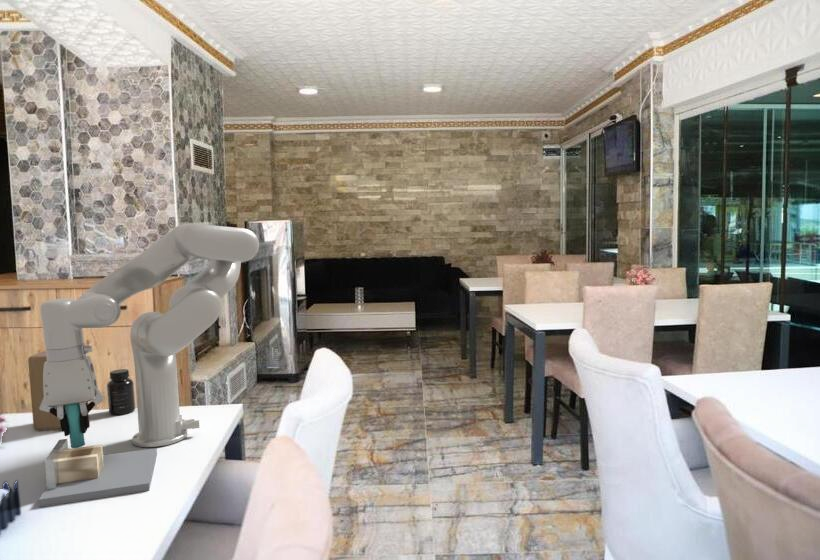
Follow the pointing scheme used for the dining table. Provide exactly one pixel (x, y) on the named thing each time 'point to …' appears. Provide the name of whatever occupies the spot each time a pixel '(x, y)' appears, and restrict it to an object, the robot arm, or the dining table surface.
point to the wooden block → (40, 395)
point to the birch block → (80, 463)
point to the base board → (108, 479)
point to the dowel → (75, 425)
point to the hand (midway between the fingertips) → (76, 432)
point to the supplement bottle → (120, 393)
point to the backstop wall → (54, 464)
